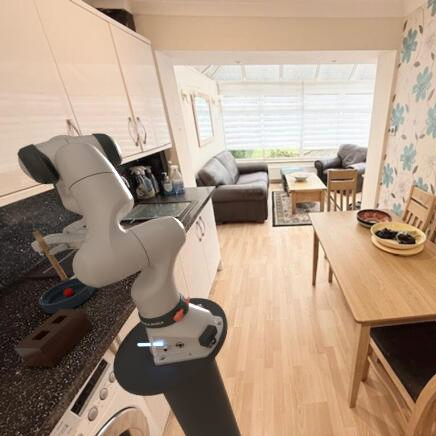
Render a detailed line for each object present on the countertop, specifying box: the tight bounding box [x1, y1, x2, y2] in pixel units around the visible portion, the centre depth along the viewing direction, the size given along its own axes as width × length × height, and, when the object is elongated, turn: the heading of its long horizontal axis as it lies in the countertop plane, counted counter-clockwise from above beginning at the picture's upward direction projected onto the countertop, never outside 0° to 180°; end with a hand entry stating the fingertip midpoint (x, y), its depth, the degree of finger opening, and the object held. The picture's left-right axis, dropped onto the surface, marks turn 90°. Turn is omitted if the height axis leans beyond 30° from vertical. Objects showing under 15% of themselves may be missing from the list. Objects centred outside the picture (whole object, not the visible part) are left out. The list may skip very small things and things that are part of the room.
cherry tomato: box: [63, 289, 74, 297], centre depth 93 cm, size 3×3×3 cm
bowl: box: [38, 278, 96, 315], centre depth 91 cm, size 15×15×5 cm
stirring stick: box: [32, 230, 69, 282], centre depth 84 cm, size 2×2×20 cm
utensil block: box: [13, 308, 94, 368], centre depth 72 cm, size 8×14×8 cm, turn 176°
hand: (45, 253), depth 82 cm, fingers closed on stirring stick, 1 cm apart
